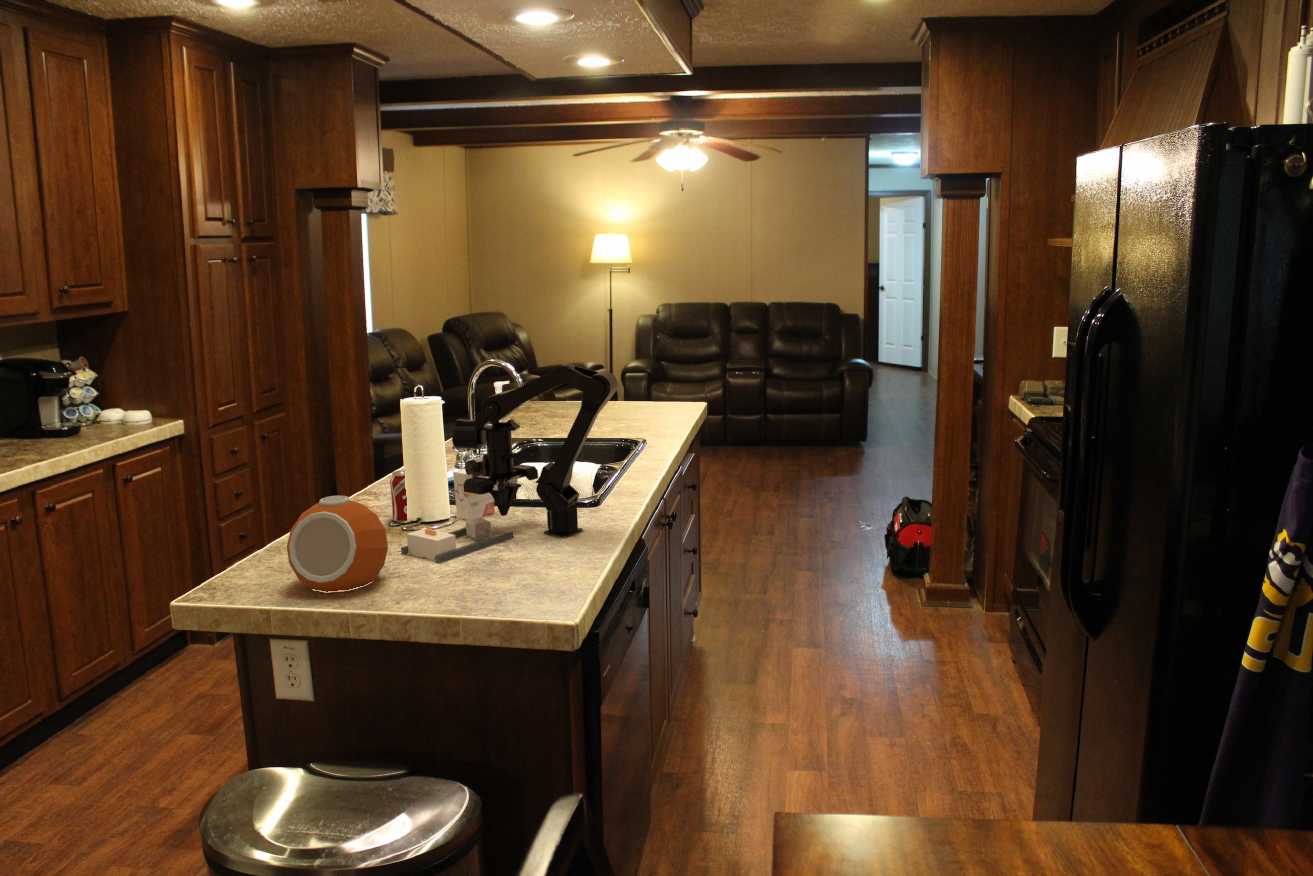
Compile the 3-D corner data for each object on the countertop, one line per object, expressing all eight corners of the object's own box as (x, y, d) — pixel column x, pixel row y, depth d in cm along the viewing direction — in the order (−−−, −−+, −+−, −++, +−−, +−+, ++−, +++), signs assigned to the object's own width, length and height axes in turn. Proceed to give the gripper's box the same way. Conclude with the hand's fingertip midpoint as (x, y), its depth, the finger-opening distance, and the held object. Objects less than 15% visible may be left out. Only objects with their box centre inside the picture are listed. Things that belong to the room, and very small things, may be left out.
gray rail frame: (513, 537, 232) (513, 531, 232) (438, 563, 215) (438, 556, 215) (476, 530, 239) (476, 523, 239) (401, 554, 222) (400, 547, 222)
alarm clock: (274, 597, 197) (264, 509, 194) (316, 568, 214) (308, 487, 211) (369, 599, 194) (361, 510, 191) (404, 570, 211) (397, 488, 208)
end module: (456, 555, 220) (454, 530, 219) (438, 561, 216) (436, 536, 215) (426, 548, 226) (424, 524, 225) (408, 554, 222) (406, 529, 221)
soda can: (410, 515, 254) (406, 468, 252) (427, 519, 250) (424, 471, 248) (387, 521, 249) (383, 473, 247) (404, 525, 245) (400, 476, 243)
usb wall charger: (482, 533, 237) (481, 516, 236) (496, 539, 231) (495, 522, 230) (466, 536, 234) (465, 519, 234) (480, 543, 229) (479, 526, 228)
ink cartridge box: (481, 510, 257) (477, 452, 254) (495, 513, 254) (491, 454, 251) (455, 518, 250) (451, 459, 248) (469, 521, 247) (465, 461, 245)
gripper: (504, 439, 246) (507, 502, 249) (444, 453, 232) (449, 520, 235) (537, 443, 240) (541, 508, 243) (478, 458, 225) (483, 527, 228)
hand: (503, 515), depth 237 cm, fingers closed
